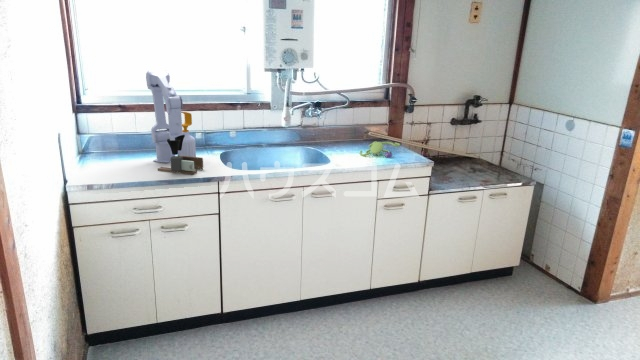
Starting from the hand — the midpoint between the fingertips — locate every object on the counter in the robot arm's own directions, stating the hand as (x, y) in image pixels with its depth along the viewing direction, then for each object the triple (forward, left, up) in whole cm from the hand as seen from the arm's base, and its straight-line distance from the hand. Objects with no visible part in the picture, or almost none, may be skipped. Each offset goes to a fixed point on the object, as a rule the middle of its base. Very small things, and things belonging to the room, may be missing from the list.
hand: (177, 152), depth 211 cm
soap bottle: (-22, -8, -10) cm, 25 cm away
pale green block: (0, +5, -8) cm, 10 cm away
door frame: (-4, 0, -9) cm, 10 cm away
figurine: (-74, +85, -10) cm, 113 cm away
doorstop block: (0, 0, -8) cm, 8 cm away
